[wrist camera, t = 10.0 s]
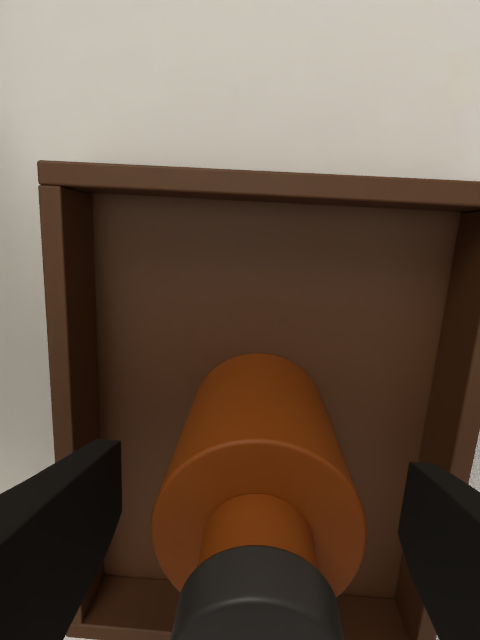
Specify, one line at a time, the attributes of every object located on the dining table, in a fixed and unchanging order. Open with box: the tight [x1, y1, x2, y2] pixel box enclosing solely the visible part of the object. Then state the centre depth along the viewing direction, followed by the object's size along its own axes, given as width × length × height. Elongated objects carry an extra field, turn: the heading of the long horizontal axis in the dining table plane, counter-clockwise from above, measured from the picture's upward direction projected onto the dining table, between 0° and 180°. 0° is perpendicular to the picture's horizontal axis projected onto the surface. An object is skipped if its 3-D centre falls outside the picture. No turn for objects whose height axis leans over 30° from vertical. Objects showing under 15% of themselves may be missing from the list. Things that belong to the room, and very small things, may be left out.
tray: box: [37, 160, 480, 640], centre depth 13 cm, size 15×12×3 cm
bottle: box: [151, 353, 367, 640], centre depth 9 cm, size 4×4×8 cm
